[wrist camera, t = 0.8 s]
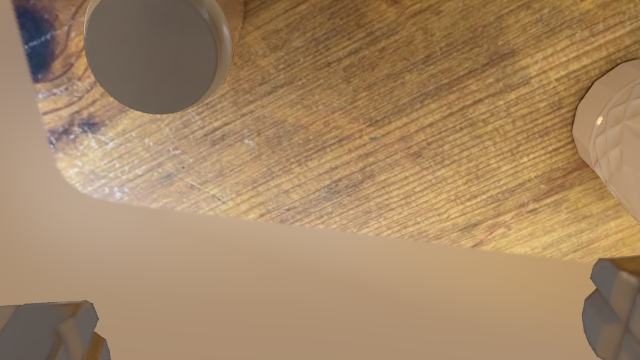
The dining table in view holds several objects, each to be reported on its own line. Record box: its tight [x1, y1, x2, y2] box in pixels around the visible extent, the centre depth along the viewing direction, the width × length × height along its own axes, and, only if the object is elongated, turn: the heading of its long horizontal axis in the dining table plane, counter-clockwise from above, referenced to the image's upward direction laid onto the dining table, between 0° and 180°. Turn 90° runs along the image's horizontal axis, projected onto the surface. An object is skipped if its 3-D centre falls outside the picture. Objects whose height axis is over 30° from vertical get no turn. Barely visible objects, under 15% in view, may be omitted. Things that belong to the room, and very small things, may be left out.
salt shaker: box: [83, 0, 245, 114], centre depth 22 cm, size 5×5×8 cm
